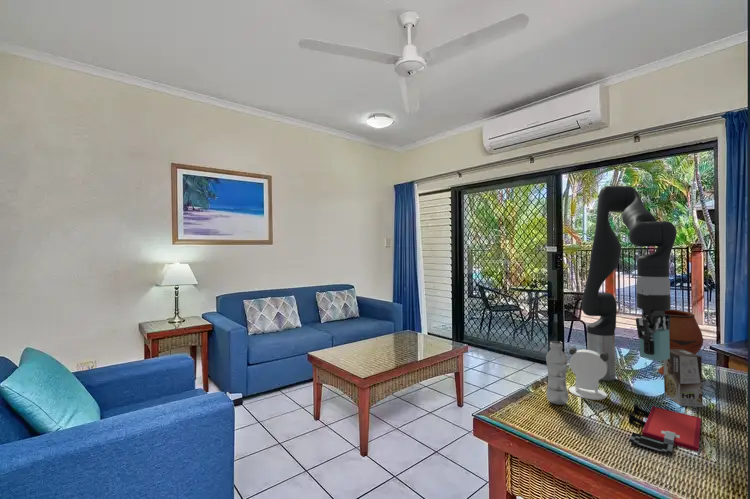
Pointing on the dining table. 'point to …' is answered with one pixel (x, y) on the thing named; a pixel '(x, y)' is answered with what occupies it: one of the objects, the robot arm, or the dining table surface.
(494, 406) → the dining table surface
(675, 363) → the coffee box
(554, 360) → the plastic bottle
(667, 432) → the red board with handle
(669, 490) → the dining table surface
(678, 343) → the terracotta clay pot
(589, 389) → the white round-based fixture
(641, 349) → the teal block
